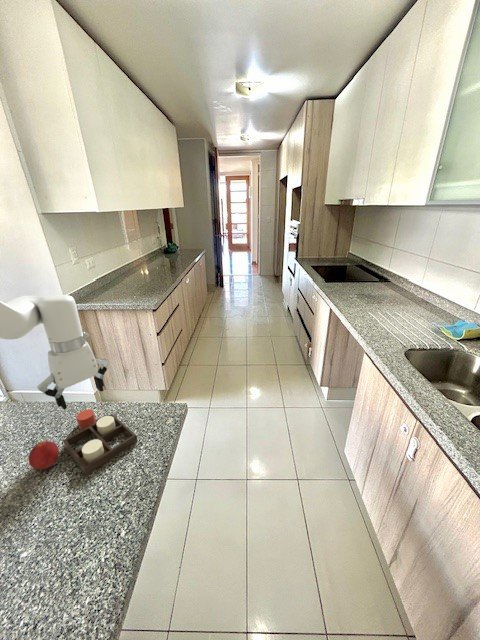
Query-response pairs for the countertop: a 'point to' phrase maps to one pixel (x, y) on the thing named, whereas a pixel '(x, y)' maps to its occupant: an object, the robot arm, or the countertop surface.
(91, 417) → the cylinder
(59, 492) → the countertop surface
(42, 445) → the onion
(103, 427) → the token
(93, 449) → the cylinder
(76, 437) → the divided brown tray
